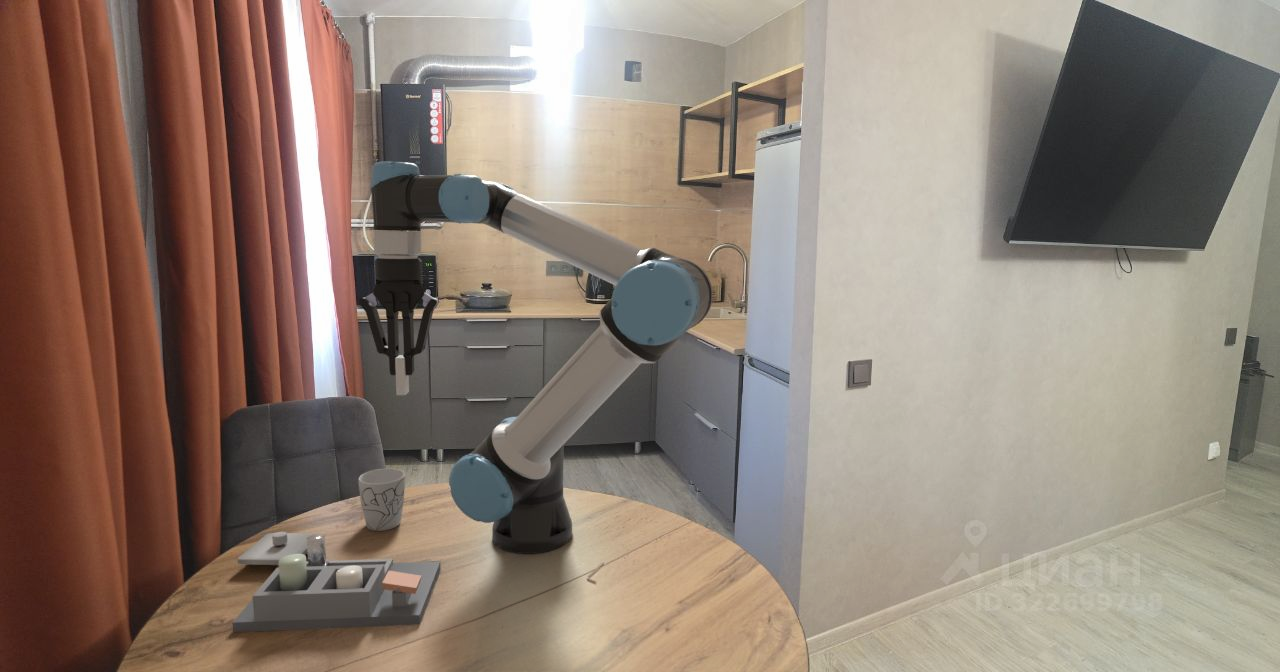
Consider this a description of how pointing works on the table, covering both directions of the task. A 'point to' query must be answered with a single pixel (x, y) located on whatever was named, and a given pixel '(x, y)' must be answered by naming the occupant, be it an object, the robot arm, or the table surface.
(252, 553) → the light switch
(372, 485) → the mug
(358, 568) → the white button
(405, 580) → the block
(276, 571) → the panel
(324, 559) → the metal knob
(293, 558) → the sage button
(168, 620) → the table surface
